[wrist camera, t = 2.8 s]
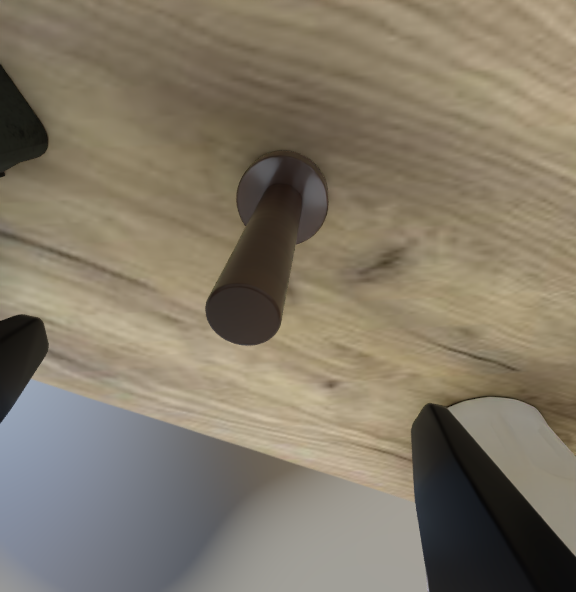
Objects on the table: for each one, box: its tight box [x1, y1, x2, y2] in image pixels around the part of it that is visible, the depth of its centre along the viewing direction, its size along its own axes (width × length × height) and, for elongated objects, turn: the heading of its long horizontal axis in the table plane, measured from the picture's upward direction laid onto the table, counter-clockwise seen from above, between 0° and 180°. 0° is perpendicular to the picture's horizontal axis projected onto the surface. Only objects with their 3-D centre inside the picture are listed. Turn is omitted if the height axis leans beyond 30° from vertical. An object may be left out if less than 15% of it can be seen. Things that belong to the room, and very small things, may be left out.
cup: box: [426, 397, 576, 592], centre depth 21 cm, size 12×12×11 cm
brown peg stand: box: [205, 150, 328, 345], centre depth 13 cm, size 4×4×10 cm
